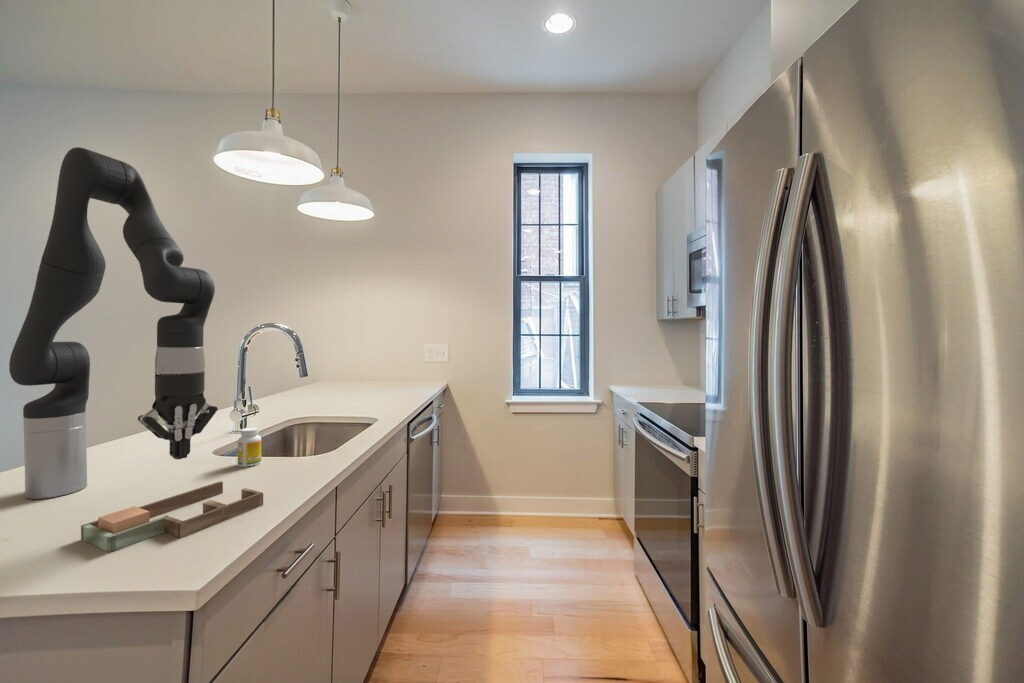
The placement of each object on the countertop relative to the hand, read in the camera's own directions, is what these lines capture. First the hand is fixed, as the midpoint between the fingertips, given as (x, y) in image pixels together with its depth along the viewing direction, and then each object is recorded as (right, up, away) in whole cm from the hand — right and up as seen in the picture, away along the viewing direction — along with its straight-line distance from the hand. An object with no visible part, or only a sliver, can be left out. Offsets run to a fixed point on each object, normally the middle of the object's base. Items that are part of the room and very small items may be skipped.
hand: (179, 458), depth 80 cm
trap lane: (+2, -11, -2) cm, 12 cm away
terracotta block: (-3, -12, -8) cm, 14 cm away
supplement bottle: (-6, -11, +30) cm, 33 cm away
